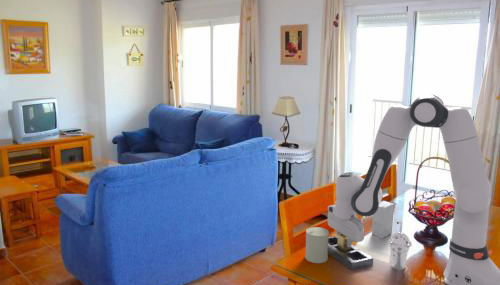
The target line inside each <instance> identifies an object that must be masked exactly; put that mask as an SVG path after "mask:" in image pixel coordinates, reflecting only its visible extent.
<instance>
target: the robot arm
mask: <svg viewBox="0 0 500 285" xmlns="http://www.w3.org/2000/svg"><path fill="white" fill-rule="evenodd" d="M417 125H418V126H419V127H424V128H437V129H438V128H439V130H440V133H441V136H442V140H443V144H444V148H445V152H446V157H447V161H448V164H449V166H448V167H449V172H450V177H451V182H452V187H453V193H454V198H455V203H454V209H453V210H454V211H453V220H452V230H451V238H450V239H449V245H448V246H449V254H448V259H447V264H446V266H445V269H444V271H443V277H444V283H445V284H446V285H500V268H499V267H498V266H497V265H496V264H495V263H494V261H493V259H491V258H490V255H491V254H492V252H493V250H488V246H487V244H486V242H487V235H488V233H487V232H488V225H489V214H490V203H491V201H492V184H491V182H490V180H489V178H488V176H487V175H488V174H487V170H486V165H485V161H484V156H483V152H482V148H481V143H480V139H479V135H478V134H479V133H478V130H477V127H476V124H475V122H474V120H473V118H472V115H471V113H470V111H469V110H468V109H467V108H465V107H460V106H456V107H455V106H453V107H447V106H446V105H445V104H444V102H443V100H442V99H441V98H440V97H439V96H437V95H434V94H422V95H420V96H418V97H417V98H415V100H414V101H413V102H412V103H411V104H409V106H404V105H399V104H396V105H392V106H390V107H389V108H388V110H387V111H386V113H385V115H384V116H383V118H382V120H381V123H380V124H379V127H378V130H377V132H376V134H375V135H376V136H375V139H374V145H373V150H372V154H371V155H372V156H371V161H370V165H369V168H368V170H367V172H366V175H365V177H364V178H362V177H361V176H360V175H358V173H357V172H344V173H341V174H340V175H339V176H338V177H337V180H336V184H335V198H336V199H335V202H334V203H335V204H333V205H332V204H331V205H328V206H327V211H328V212H327V225H328V226H329V228H332V229H333V230H335V231H336V236H338V234H343V235H345V236H346V237H348V238H347V239H348V242H346V246H347V247H351V245H353V244H352V243H353V242H354V243H361V242H363V241H364V240H365V228H364V224H363V222H362V221H361V219H360V218H359V217H358V216H361V217H367V218H368V217H371V216H372V217H373V214H375V213H376V211H377V210H378V206H379V204H380V202H382V201H383V200H382V199H383V197H384V192H383V190H382V188H381V186H382V184H383V181H384V180H385V176H386V174H387V173H388V170H389V169H390V167H391V166H392V164H393V163H394V162H395V161H396V159H397V158H398V157H399V155H400V154H401V153H402V151H403V149H404V148H405V145H406V143H407V141H408V139H409V136H410V133H411V131H412V130H413V128H414V127H416V126H417Z"/></svg>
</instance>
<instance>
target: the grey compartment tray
mask: <svg viewBox="0 0 500 285" xmlns="http://www.w3.org/2000/svg"><path fill="white" fill-rule="evenodd" d="M337 245H338V236H337V235H335V236H334V235H333V236H328V255H330V256H331V257H333V258H335V259H336V260H337V261H338V262H340V263H341V264H342V265H344V266H345V267H347V268H348V269H349V270H351V271H353V270H357V269H361V268H362V269H363V268H367V267H371V266H374V257H372V256H371V255H369V254H368V253H366V252H365V251H363V250H361V249H360V248H358V247H357V246H355V245H353V244H352V245H351V250H348V251H342V250H340V249H339V248H337ZM357 259H358V260H357Z"/></svg>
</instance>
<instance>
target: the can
mask: <svg viewBox="0 0 500 285" xmlns="http://www.w3.org/2000/svg"><path fill="white" fill-rule="evenodd" d="M329 234H330V232H329V230H328V229H326V228H324V227H319V226H313V227H308V228H306V230H305V256H304V258H305V261H308V262H310V263H311V264H323V263H326V262H328V260H329V257H328V256H329V253H328V237H330V235H329Z"/></svg>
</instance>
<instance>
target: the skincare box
mask: <svg viewBox="0 0 500 285" xmlns="http://www.w3.org/2000/svg"><path fill="white" fill-rule="evenodd" d="M394 210H395V203H392V202H389V201H386V200H381V202H380V204H379V206H378V210H377V211H376V213H375V214H373V215H372V224H371V235H373V236H375V237H378V238H381V239H384V238H385V237H387V236H389V235H391V234H392V235H393V225H394V224H393V223H394Z"/></svg>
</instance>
